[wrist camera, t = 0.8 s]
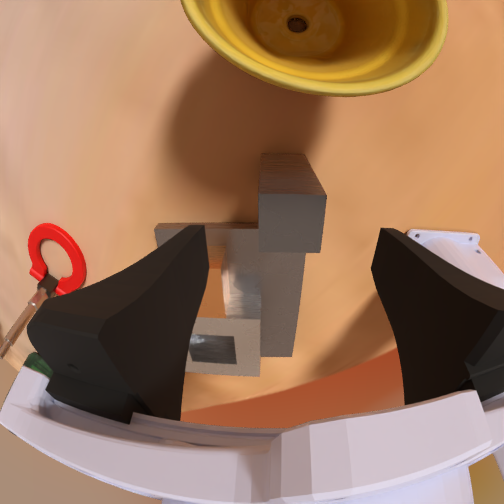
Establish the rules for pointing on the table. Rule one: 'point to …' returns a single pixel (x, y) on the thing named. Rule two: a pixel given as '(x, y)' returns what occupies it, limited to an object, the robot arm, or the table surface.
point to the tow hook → (47, 276)
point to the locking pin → (290, 205)
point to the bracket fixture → (242, 301)
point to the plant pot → (325, 41)
